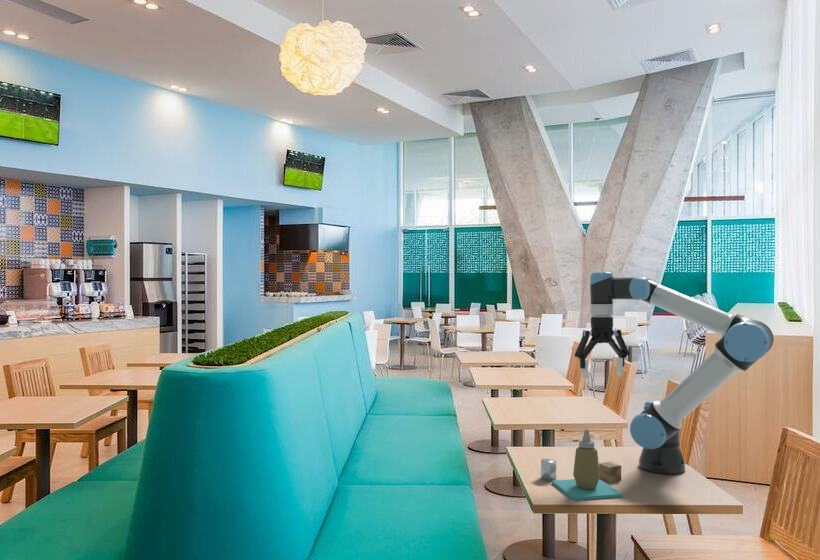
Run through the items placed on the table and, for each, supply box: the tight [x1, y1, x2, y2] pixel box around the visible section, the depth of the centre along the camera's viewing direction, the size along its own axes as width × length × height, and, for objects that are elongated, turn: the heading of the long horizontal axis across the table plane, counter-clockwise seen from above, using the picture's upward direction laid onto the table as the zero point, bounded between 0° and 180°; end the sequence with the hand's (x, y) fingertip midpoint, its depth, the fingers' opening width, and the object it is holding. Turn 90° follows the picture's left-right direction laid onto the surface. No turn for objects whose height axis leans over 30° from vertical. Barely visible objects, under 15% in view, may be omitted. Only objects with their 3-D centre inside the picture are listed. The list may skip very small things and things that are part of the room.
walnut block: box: [598, 461, 622, 483], centre depth 212 cm, size 5×5×5 cm
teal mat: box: [551, 478, 623, 501], centre depth 201 cm, size 16×16×1 cm
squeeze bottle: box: [572, 428, 600, 489], centre depth 201 cm, size 8×8×18 cm
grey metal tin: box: [540, 458, 557, 482], centre depth 213 cm, size 5×5×6 cm
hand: (602, 377), depth 223 cm, fingers open, 13 cm apart
